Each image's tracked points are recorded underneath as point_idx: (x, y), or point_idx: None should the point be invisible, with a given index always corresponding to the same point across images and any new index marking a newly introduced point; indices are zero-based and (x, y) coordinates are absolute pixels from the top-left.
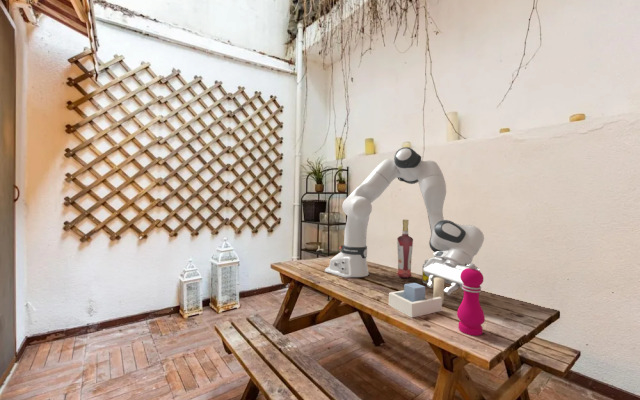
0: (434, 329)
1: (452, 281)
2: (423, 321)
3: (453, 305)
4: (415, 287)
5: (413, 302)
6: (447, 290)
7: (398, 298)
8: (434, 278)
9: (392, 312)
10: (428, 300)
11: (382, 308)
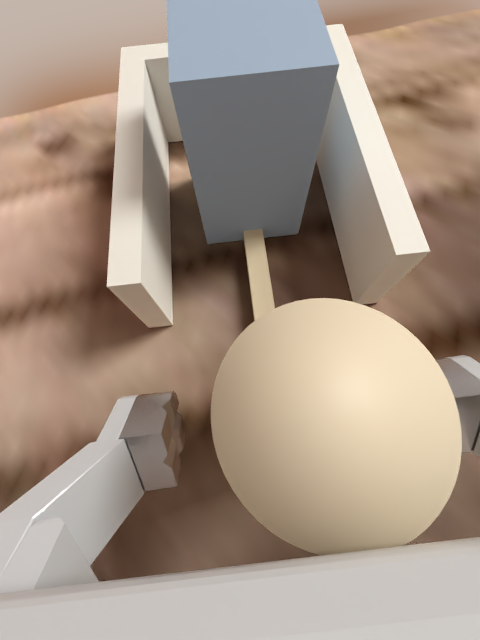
0: (14, 150)
1: (14, 598)
2: (94, 154)
3: (192, 518)
4: (189, 5)
5: (134, 62)
6: (122, 409)
7: None
8: (378, 324)
9: None
10: (116, 154)
11: None
